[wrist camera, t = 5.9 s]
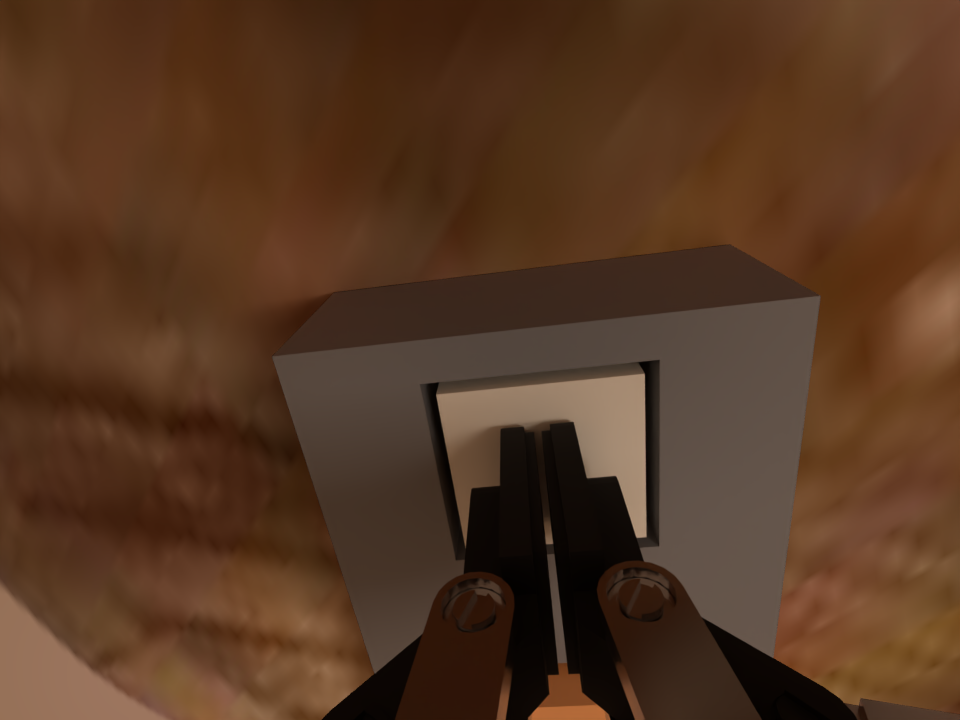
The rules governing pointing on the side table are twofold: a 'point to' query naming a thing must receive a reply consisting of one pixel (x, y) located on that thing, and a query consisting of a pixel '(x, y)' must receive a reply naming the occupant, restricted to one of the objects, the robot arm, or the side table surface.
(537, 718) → the button orange
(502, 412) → the button cream
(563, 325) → the button panel
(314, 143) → the side table surface
